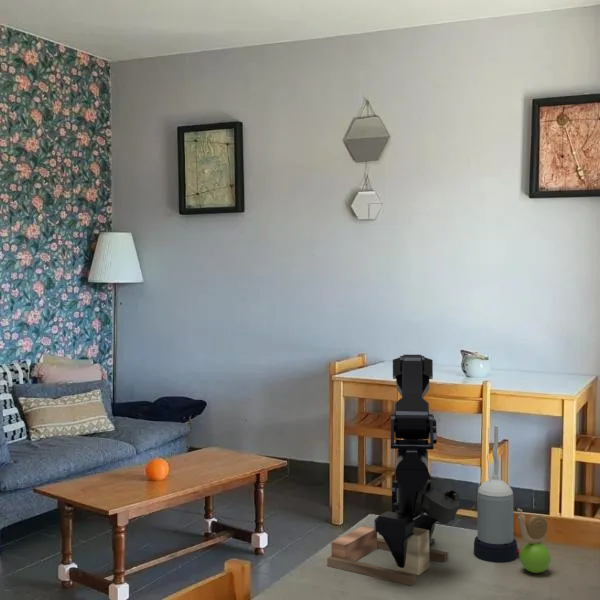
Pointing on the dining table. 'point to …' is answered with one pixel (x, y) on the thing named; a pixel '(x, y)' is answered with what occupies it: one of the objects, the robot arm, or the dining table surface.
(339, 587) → the dining table surface
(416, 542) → the block
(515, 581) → the dining table surface
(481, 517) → the humidifier
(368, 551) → the guide track
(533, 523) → the snail figurine
